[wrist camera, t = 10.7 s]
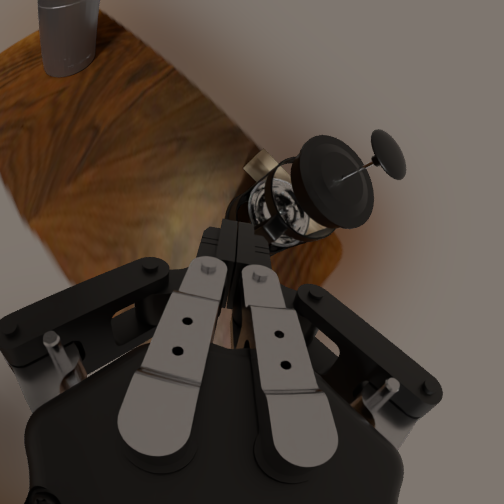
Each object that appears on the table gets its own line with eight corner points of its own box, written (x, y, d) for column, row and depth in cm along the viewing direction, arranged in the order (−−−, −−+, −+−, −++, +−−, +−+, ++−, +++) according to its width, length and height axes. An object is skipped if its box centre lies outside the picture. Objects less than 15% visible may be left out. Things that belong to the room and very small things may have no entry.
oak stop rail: (242, 168, 39) (255, 155, 35) (251, 160, 39) (263, 148, 36) (307, 236, 42) (324, 231, 38) (313, 228, 42) (330, 221, 39)
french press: (260, 178, 40) (378, 87, 19) (299, 228, 41) (435, 174, 21) (200, 225, 35) (312, 126, 14) (247, 281, 36) (399, 254, 16)
